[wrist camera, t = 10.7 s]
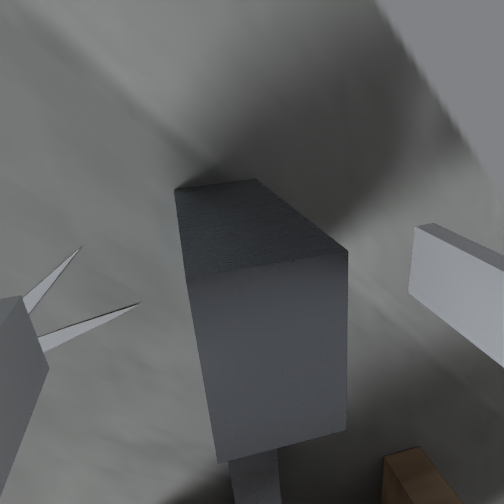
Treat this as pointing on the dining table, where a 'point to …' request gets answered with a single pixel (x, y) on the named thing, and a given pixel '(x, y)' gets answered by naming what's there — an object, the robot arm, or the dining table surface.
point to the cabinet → (414, 480)
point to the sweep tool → (264, 326)
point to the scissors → (69, 332)
